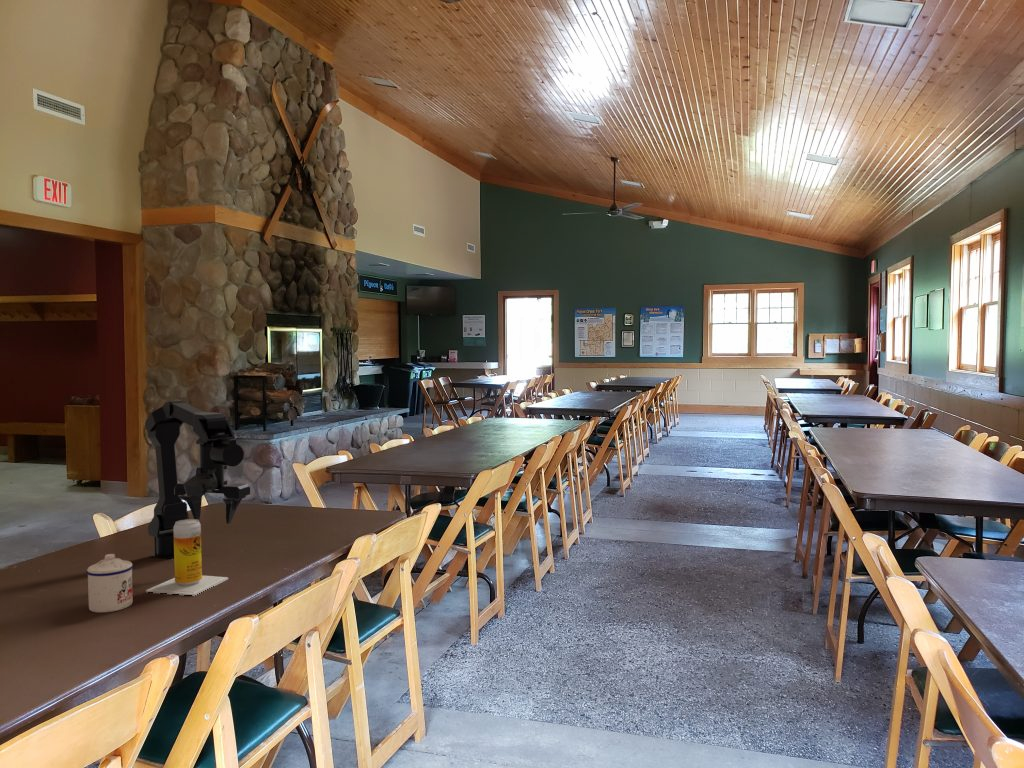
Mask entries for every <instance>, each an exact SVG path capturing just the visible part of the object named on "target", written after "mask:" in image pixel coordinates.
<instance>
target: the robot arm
mask: <svg viewBox="0 0 1024 768" xmlns="http://www.w3.org/2000/svg"><path fill="white" fill-rule="evenodd" d="M184 423H185V424H187V425H189V426H191V427H192V432H193V433H194V434H195V435H197V436H198V439H196V442H195V444H196V445H199V467H196V469H195V475H193V476H192V477H190V478H189V479H188V480H186V481H182V482H179V483H178V473H177V471H178V470H177V461H176V460H177V458H176V447H175V446H176V443H177V441H178V439H179V437H180V435H181V427H182V426H183V425H184ZM144 426H145V430H146V433H147V439H149V441H150V442H151V443H152V444H153V446H154V447H155V458H156V461H155V462H156V471H157V484H158V485H157V487H158V496H159V497H158V500H157V503H156V504H155V506H154V508H153V517H152V519H151V521H150V522H149V524H148V526H147V532H148V536H149V537H150V536H151V537H153V539H154V541H153V543H154V554H151V555H150V558H153V559H154V558H158V559H169V560H170V559H173V558H174V530H173V527H174V525H175V522H177V521H180V520H186V519H190V517H189V516H190V515H189V513H188V507H189V509H190V511H191V515H192V517H193V519H197V520H199V521H200V519H201V512H202V500H203V497H204V496H205V495H206V494H208V493H209V494H223V495H224V497H225V498H223V499H222V501H223V502H224V503H225V519H226V524H227V525H229V524H231V523H232V520H233V518H234V516H235V513H236V511H237V508H238V507H239V505H240V504H241V502H242V500H243V499H245V498H246V497H247V496H248V495H251V487H250V485H249V484H248V483H239V482H238V483H233V484H230V485H228V480H225V470H227V469H228V467H232V468H233V467H237V466H239V465H240V464H241V463H242V462H243V460H244V457H245V452H244V450H243V447H241V445H240V444H238V443H237V439H236V437H235V432H234V431H233V429H232V427H231V425H230V422H229V420H228V418H227V416H226V415H225V414H224V413H222V412H209V411H204V410H202V409H199V408H197V407H195V406H192V405H191V404H188V403H187V402H186V401H183V400H170V401H169V400H168V401H166V402H164V404H163V405H162V406H161V407H159V408H158V409H155V410H154V411H152V412H151V413H150V414H149V415H148V417H147V418H146V420H145V425H144Z"/></svg>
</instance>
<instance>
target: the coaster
mask: <svg viewBox="0 0 1024 768" xmlns="http://www.w3.org/2000/svg"><path fill="white" fill-rule="evenodd" d="M228 580H229V577H227V576H217V575H216V576H214V575H203V574H202V579H201V580H200V582H199V583H197V584H194V585H190V586H180V585H178V584H177V583H176V582H175V577H173V578H171V579H168V580H166V581H164V582H162V583H160V584H157V585H155V586H152V587H149V588H148V589H145V593H148V592H153V593H152V594H160V593H167V594H166V595H172V594H179V595H178V596H184V595H192V596H191V597H196V596H198V595H200V594H201V592H202V593H203V591H204V592H206V591H208V590H210V589H212V588H214V587H216V586H218V585H220V584H221V583H224V582H225V581H228ZM213 586H214V587H213ZM211 587H212V588H211ZM209 588H210V589H209ZM207 589H208V590H207ZM205 590H206V591H205ZM199 593H200V594H199ZM197 594H198V595H197ZM195 595H196V596H195Z"/></svg>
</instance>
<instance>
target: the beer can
mask: <svg viewBox="0 0 1024 768" xmlns="http://www.w3.org/2000/svg"><path fill="white" fill-rule="evenodd" d="M173 530H174V557H173V558H174V559H173V560H174V578H175V582H176V583H177V584H178V585H180V586H190V585H194V584H197V583H199V582H200V580H201V579H202V575H203V564H202V563H203V558H202V552H203V551H202V524H201V522H200V519H199V520H197V519H194V518H189V519H186V520H180V521H177V522H175V525H174V527H173Z"/></svg>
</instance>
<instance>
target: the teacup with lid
mask: <svg viewBox="0 0 1024 768" xmlns="http://www.w3.org/2000/svg"><path fill="white" fill-rule="evenodd" d="M104 555H105V556H104V558H103V559H101V560H99V561H98V562H97V563H94V564H92V565H89V567H88V568H87V570H86V575H87V586H88V587H87V590H88V591H87V594H88V609H89V611H90V612H93V613H100V614H101V613H110V612H111V613H112V612H117V611H120V610H121V611H122V610H124V609H126V608H129V607H130V606H131V605H132V604H133V601H134V600H133V599H134V597H133V596H134V595H133V568H134V564H133V563H132V562H131V561H129V560H125V559H121V558H119V557H116V555H115V553H108V554H104Z"/></svg>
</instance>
